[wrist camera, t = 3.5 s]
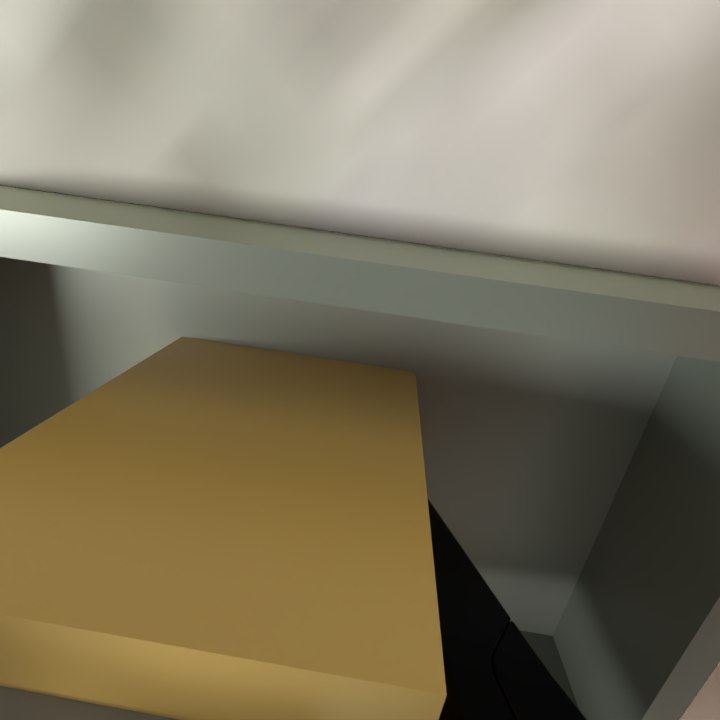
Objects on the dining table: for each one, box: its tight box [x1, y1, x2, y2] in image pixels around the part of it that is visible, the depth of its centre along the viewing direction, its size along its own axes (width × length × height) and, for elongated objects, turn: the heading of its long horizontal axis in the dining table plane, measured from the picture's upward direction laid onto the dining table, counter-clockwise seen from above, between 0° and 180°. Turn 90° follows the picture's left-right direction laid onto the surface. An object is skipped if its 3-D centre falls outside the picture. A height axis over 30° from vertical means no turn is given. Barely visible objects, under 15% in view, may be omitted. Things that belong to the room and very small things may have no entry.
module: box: [0, 337, 447, 720], centre depth 7 cm, size 5×5×6 cm
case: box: [0, 185, 720, 720], centre depth 9 cm, size 16×11×4 cm, turn 83°
